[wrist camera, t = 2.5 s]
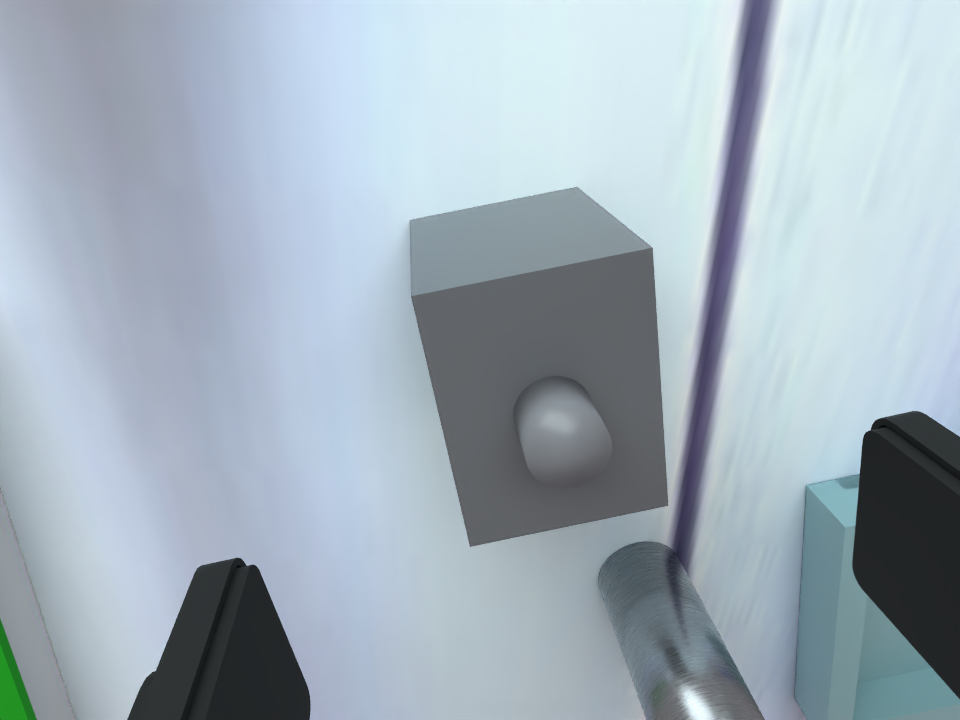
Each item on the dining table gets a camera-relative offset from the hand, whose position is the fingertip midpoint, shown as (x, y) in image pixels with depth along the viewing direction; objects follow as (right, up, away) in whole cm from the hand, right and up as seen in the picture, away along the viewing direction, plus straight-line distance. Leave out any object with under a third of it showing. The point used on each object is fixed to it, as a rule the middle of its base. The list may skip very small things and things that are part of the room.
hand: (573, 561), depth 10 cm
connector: (-1, +5, +9) cm, 10 cm away
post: (+4, -5, +13) cm, 15 cm away
